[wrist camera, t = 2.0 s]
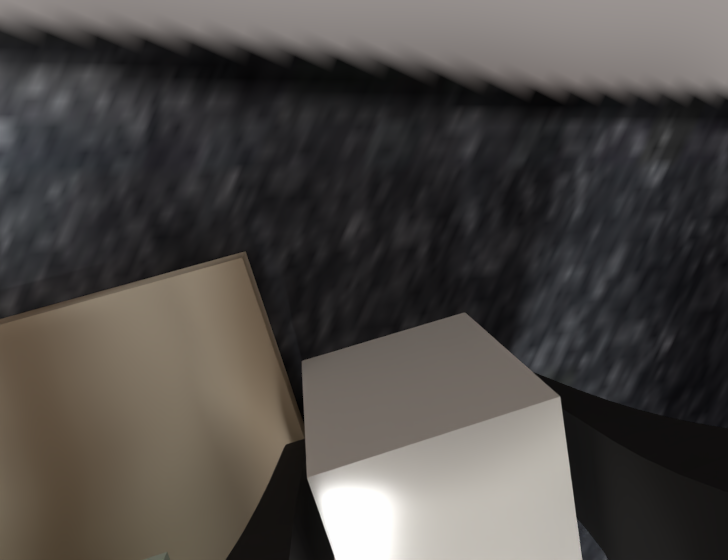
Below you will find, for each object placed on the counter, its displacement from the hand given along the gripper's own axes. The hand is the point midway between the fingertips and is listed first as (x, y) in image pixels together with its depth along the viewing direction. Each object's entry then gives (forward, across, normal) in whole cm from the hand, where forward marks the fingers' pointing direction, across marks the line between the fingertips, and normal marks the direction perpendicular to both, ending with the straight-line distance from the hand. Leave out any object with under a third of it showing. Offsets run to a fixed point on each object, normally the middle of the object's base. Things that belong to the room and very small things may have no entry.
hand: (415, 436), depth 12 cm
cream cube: (+2, 0, 0) cm, 2 cm away
